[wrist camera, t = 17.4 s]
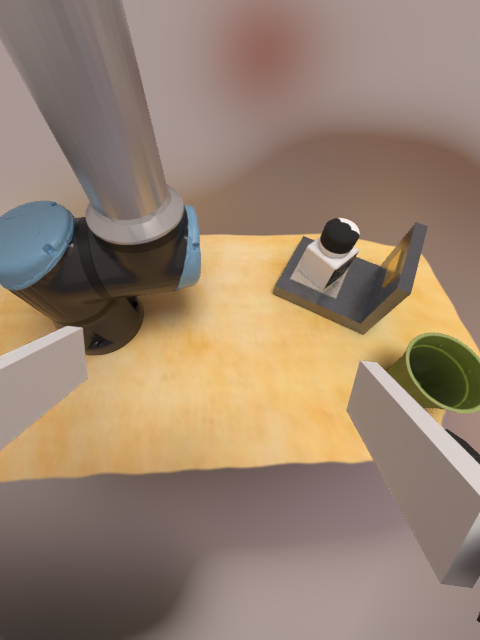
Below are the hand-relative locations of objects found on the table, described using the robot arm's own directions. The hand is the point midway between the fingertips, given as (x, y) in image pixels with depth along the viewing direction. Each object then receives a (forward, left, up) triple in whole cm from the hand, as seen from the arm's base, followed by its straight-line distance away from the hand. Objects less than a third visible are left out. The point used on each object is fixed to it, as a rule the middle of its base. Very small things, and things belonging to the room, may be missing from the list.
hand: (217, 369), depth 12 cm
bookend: (+6, +36, -34) cm, 50 cm away
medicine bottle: (+3, +36, -31) cm, 47 cm away
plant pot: (+25, +21, -34) cm, 47 cm away
